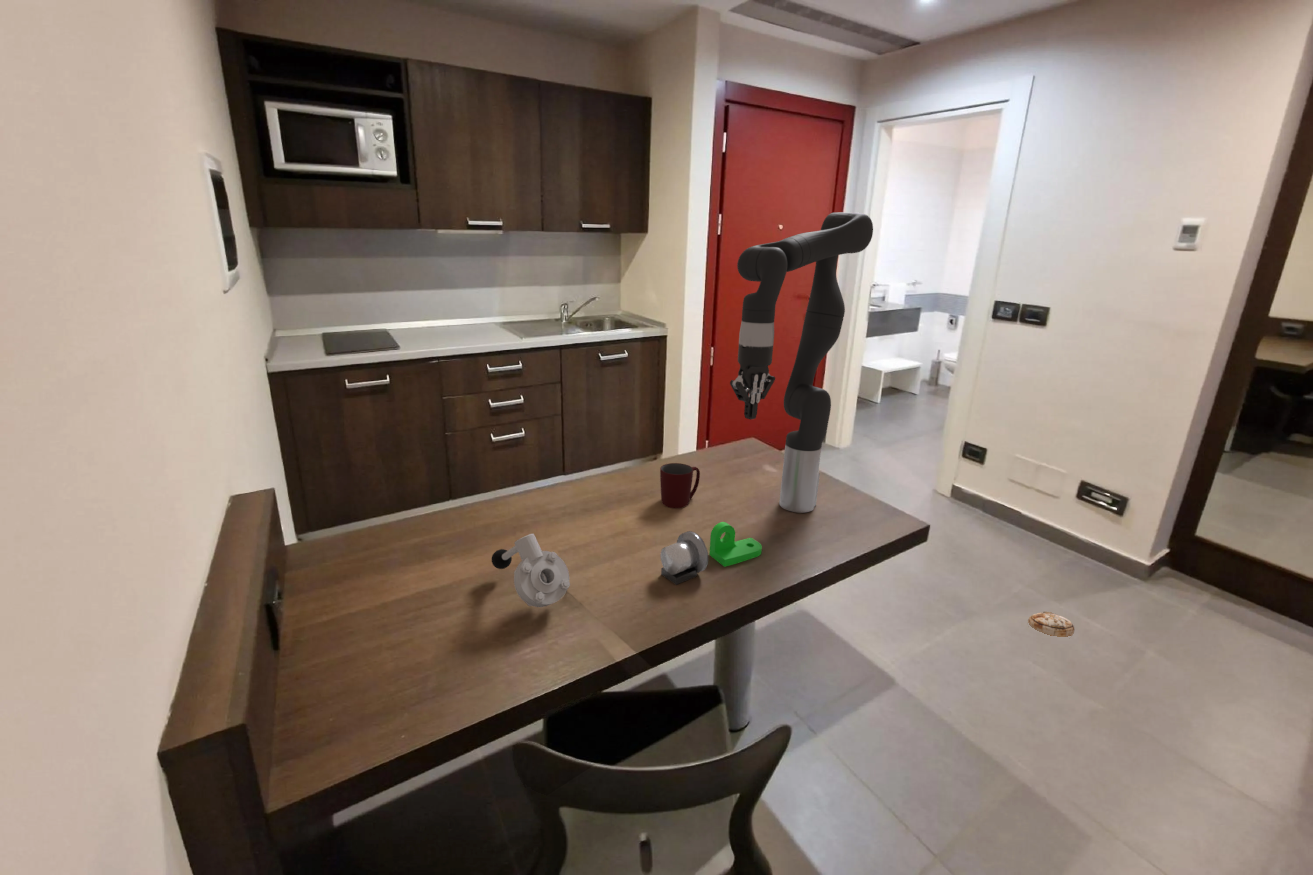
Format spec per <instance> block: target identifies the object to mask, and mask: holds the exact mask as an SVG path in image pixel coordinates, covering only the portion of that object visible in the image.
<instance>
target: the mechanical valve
mask: <svg viewBox="0 0 1313 875" xmlns="http://www.w3.org/2000/svg"><path fill="white" fill-rule="evenodd" d="M516 554H518V555H519V558H520V559H521V561H520V562H519V563H518V565H517V566H516V568H515V570H514V572H513V585H514V590H515V592H516V594H517V596H519V599H521V601H523V602H524V603H526V604H527V606H528V607H535V608H544V607H547V606H550V605H553V604H554V603H557V602H558V601H560V600H561V599H562V598H563V597H564V596H565V595H566V593H567V591H568V589H569V587H570V586H571V583H570V572H569V568H568V566H567V565H566V563H565V561H564V560H563V559H562V558H561V557H560V556H559V555H558V554H557V553H556V552H555V551H548V550H542V548H541V547H540V544H539V542H538V539H537V538H536V536H535V533H529V534H527V535H525V536H523V537H520V538H518V539H517V540H515V541H514V545H513V547H511V548H510V549H508V550H507V549H503V548H500V549H498V550H496V551H494V552H493V554H492V555H491V563H492V566H494V568H496V569H498V570H503V569H507V568H508V567H509V566H510V565H511V563H512V559H513V558H512V557H513V556H514V555H516Z"/></svg>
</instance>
